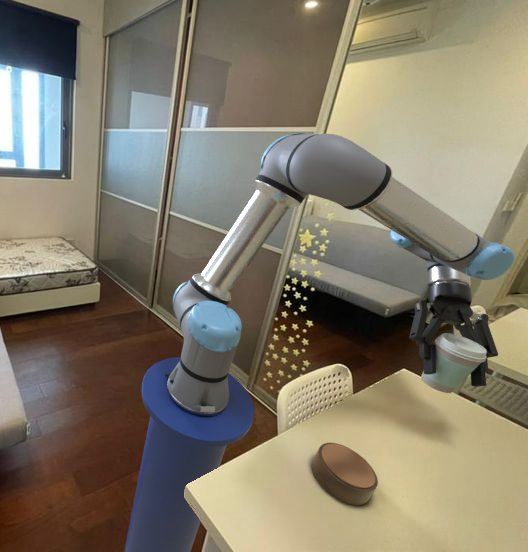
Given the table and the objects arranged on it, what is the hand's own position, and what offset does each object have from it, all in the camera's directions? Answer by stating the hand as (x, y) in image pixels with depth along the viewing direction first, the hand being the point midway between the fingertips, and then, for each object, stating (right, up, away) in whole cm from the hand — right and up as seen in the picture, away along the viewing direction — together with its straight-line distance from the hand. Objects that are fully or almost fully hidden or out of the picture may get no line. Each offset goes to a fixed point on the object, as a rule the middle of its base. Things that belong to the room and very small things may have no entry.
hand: (454, 379), depth 71 cm
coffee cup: (0, -3, +5) cm, 5 cm away
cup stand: (-30, -17, -7) cm, 36 cm away
